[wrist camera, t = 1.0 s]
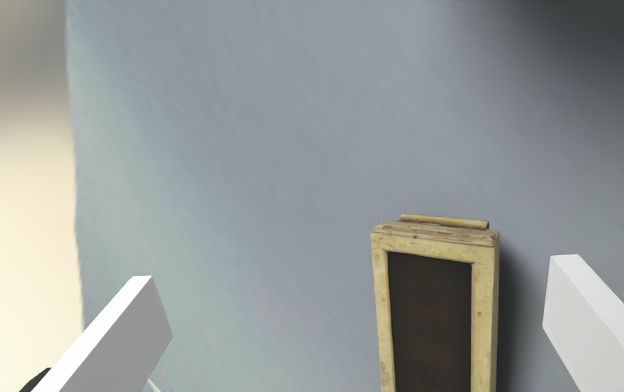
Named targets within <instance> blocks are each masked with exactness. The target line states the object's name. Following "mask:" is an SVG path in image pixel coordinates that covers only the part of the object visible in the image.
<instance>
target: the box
mask: <svg viewBox="0 0 624 392" xmlns="http://www.w3.org/2000/svg"><path fill="white" fill-rule="evenodd" d="M370 237H371V251H372V263H373V275H374V287H375V301H376V317H377V331H378V345H379V359H380V373H381V390H382V392H496V369H497V334H498V299H499V232H498V231H493V230H489V221H485V220H473V219H462V218H449V217H438V216H428V215H417V214H405V213H403V214H402V215H401V220H398V221H391V222H390V221H386V222H385V223H384V224H383V223H378V224H377V225H376V226H375V227H374V228H373V230H372V233H371V234H370Z"/></svg>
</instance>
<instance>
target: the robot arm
mask: <svg viewBox="0 0 624 392" xmlns="http://www.w3.org/2000/svg"><path fill="white" fill-rule="evenodd" d="M542 327H543V329H544V331H545V332H546V334H547V336H548V337H549V339H550V341H551V342H552V344H553V346H554V347H555V349H556V351H557V353H558V354H559V356H560V358H561V359H562V361H563V363H564V364H565V366H566V368H567V370H568V371H569V373H570V375H571V376H572V378H573V380H574V381H575V383H576V385H577V386H578V388H579V390H580V392H624V304H623V303H622V301H621V300H620V299H619V298H618V297H617V296H616V295H615V294H614V293H613V292H612V291H611V290H610V288H609V287H608V286H607V285H606V284H605V283H604V282H603V281H602V280H601V279H600V278H599V277H598V275H597V274H596V273H595V272H594V271H593V270H592V269H591V268H590V267H589V266H588V265H587V263H586V262H585V261H584V260H583V259H582V258H581V257H580V256H579V255H578V254H575V255H555V256H551V258H550V266H549V274H548V283H547V291H546V300H545V308H544V316H543V325H542ZM172 337H173V334H172V332H171V329H170V326H169V323H168V320H167V317H166V314H165V311H164V308H163V305H162V303H161V300H160V297H159V294H158V291H157V288H156V285H155V282H154V279H153V277H152V276H136V277H132V278H131V279H130V280H129V281H128V282H127V283H126V285H125V286H124V287H123V288H122V289H121V290H120V291H119V292H118V294H117V295H116V296H115V297H114V298H113V299H112V300H111V302H110V303H109V304H108V305H107V306H106V307H105V308H104V309H103V311H102V312H101V313H100V314H99V315H98V316H97V317H96V319H95V320H94V321H93V322H92V323H91V324H90V325H89V326H88V328H87V329H86V330H85V331H84V332H83V333H82V334H81V336H80V337H79V338H78V339H77V340H76V342H74V344H73V345H72V346H71V347H70V348H69V349H68V350H67V352H66V353H65V354H64V355H63V356H62V357H61V358H60V359H59V361H58V362H57V363H56V364H55V365H54V366H53V368H46V369H45V370H44V371H42V372H41V373H40V374H38V375H37V376H36V377H34V378H33V379H32V380H30V381H29V382H28V383H27V384H26V385H25V386H24V387H23V388H22V389H21V390H20V391H19V392H140V391H141V389H142V388H143V386H144V384H145V383H146V381H147V379H148V377H149V376H150V374H151V372H152V371H153V369H154V367H155V366H156V364H157V362H158V360H159V359H160V357H161V355H162V354H163V352H164V350H165V349H166V347H167V345H168V344H169V342H170V340H171V338H172Z"/></svg>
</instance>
